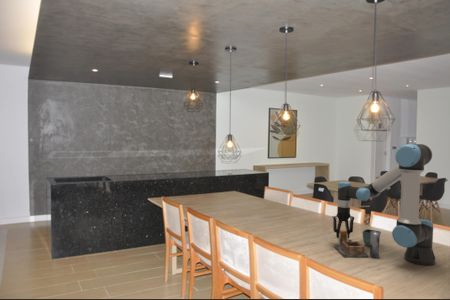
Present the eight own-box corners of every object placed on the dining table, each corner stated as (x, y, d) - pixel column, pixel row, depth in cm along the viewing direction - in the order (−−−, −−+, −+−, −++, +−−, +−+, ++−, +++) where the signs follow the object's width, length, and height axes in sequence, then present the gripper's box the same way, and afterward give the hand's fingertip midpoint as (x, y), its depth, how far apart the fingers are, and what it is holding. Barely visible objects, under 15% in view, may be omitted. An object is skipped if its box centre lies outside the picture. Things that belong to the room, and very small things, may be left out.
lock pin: (345, 243, 215) (345, 230, 214) (357, 255, 194) (358, 240, 194) (338, 243, 215) (339, 230, 214) (350, 255, 194) (351, 240, 194)
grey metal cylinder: (376, 255, 196) (377, 231, 195) (380, 258, 191) (381, 233, 190) (368, 255, 196) (368, 231, 195) (371, 258, 191) (372, 233, 190)
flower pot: (366, 242, 220) (366, 228, 219) (380, 245, 214) (381, 231, 214) (361, 245, 213) (362, 231, 212) (376, 248, 207) (377, 234, 207)
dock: (355, 246, 210) (355, 237, 210) (368, 257, 191) (369, 247, 191) (333, 246, 210) (333, 237, 210) (344, 257, 191) (344, 247, 191)
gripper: (355, 205, 216) (353, 241, 217) (328, 205, 216) (327, 241, 217) (359, 207, 209) (358, 245, 210) (332, 207, 209) (331, 245, 210)
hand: (342, 243), depth 213 cm, fingers closed on lock pin, 4 cm apart
